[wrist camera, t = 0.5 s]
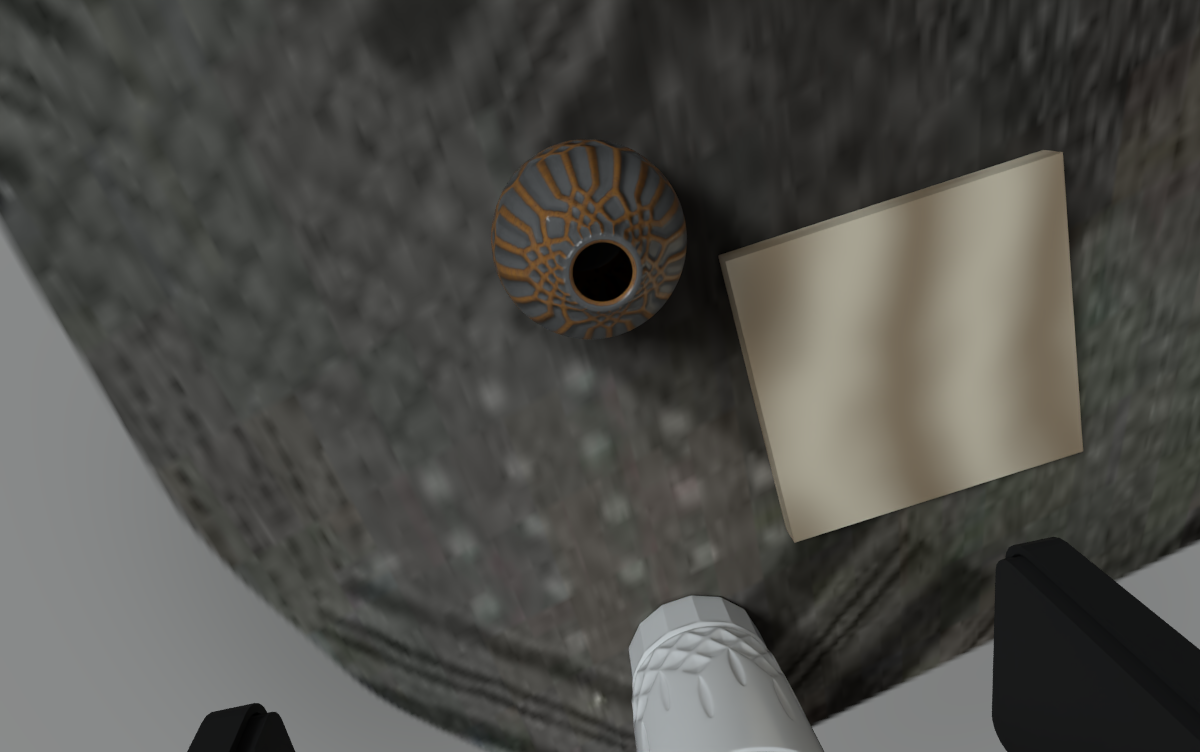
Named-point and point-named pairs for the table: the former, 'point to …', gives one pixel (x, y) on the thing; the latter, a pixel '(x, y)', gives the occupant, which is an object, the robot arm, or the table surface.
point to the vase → (589, 239)
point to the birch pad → (912, 344)
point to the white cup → (711, 684)
